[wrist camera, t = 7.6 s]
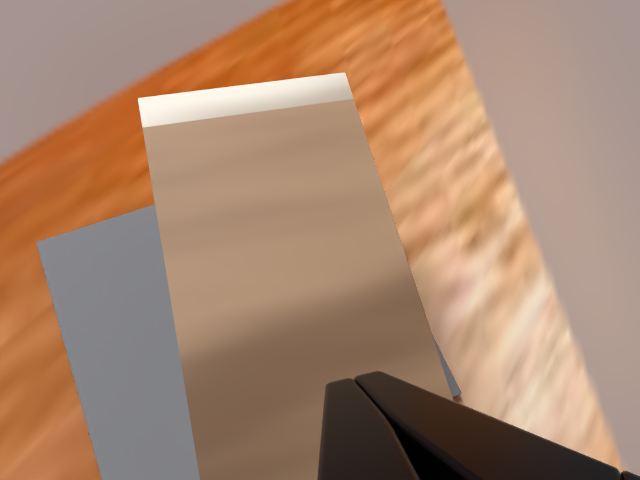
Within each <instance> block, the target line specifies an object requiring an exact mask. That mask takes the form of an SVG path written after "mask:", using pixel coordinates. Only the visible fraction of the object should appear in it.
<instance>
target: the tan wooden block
mask: <svg viewBox="0 0 640 480" xmlns="http://www.w3.org/2000/svg"><path fill="white" fill-rule="evenodd" d="M138 102H139V108H140V115H141V121H142V127H143V133H144V139H145V145H146V151H147V157H148V164H149V170H150V176H151V182H152V188H153V194H154V200H155V207H156V213H157V219H158V225H159V231H160V237H161V243H162V249H163V256H164V262H165V268H166V274H167V280H168V286H169V292H170V299H171V305H172V311H173V317H174V323H175V329H176V335H177V341H178V348H179V354H180V360H181V366H182V372H183V378H184V384H185V391H186V397H187V403H188V409H189V415H190V421H191V427H192V434H193V440H194V446H195V452H196V458H197V464H198V470H199V476H200V480H317V476H318V465H319V453H320V442H321V431H322V419H323V408H324V396H325V387H326V384H328V383H329V382H333V381H337V380H341V379H346V378H351V379H353V380H354V378H355V377H356V376H358V375H362V374H366V373H370V372H374V371H381V372H384V373H386V374H389V375H391V376H393V377H396V378H398V379H401V380H403V381H406V382H408V383H411V384H413V385H415V386H418V387H420V388H423V389H425V390H428V391H430V392H432V393H435V394H437V395H440V396H442V397H445V398H447V399H449V400H452V401H454V400H453V397H452V394H451V391H450V388H449V385H448V382H447V379H446V376H445V373H444V370H443V367H442V364H441V361H440V358H439V355H438V352H437V349H436V346H435V343H434V340H433V337H432V334H431V331H430V328H429V325H428V322H427V319H426V316H425V313H424V310H423V307H422V304H421V301H420V298H419V295H418V292H417V289H416V286H415V282H414V279H413V276H412V273H411V270H410V267H409V264H408V261H407V258H406V255H405V252H404V249H403V246H402V243H401V240H400V237H399V234H398V231H397V228H396V225H395V222H394V219H393V216H392V213H391V210H390V207H389V204H388V201H387V198H386V195H385V192H384V189H383V186H382V183H381V180H380V177H379V174H378V171H377V168H376V165H375V162H374V159H373V156H372V153H371V150H370V147H369V144H368V141H367V138H366V135H365V131H364V128H363V125H362V122H361V119H360V116H359V113H358V110H357V107H356V104H355V101H354V98H353V95H352V92H351V89H350V86H349V83H348V80H347V77H346V74H345V73H337V74H329V75H321V76H313V77H305V78H297V79H289V80H281V81H273V82H265V83H257V84H249V85H240V86H232V87H224V88H216V89H208V90H200V91H192V92H184V93H176V94H168V95H160V96H152V97H144V98H138Z"/></svg>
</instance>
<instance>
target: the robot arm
mask: <svg viewBox="0 0 640 480" xmlns="http://www.w3.org/2000/svg"><path fill="white" fill-rule="evenodd" d="M317 480H640V476H637V475H635V474H633V473H630V472H628V471H623V472H621V474H620V472H619V471H618V469H617V468H615V467H613V466H610V465H608V464H605V463H603V462H600V461H598V460H596V459H593V458H591V457H588V456H586V455H583V454H581V453H579V452H576V451H574V450H571V449H569V448H566V447H564V446H561V445H559V444H557V443H554V442H552V441H549V440H547V439H544V438H542V437H540V436H537V435H535V434H532V433H530V432H527V431H525V430H523V429H520V428H518V427H515V426H513V425H510V424H508V423H505V422H503V421H501V420H498V419H496V418H493V417H491V416H488V415H486V414H484V413H481V412H479V411H476V410H474V409H471V408H469V407H467V406H464V405H462V404H459V403H457V402H454V401H452V400H449V399H447V398H445V397H442V396H440V395H437V394H435V393H432V392H430V391H428V390H425V389H423V388H420V387H418V386H415V385H413V384H411V383H408V382H406V381H403V380H401V379H398V378H396V377H393V376H391V375H389V374H386V373H384V372H381V371H374V372H370V373H366V374H362V375H358V376H356V377H355V378H354V380H353V379H351V378H346V379H341V380H337V381H333V382H329V383H328V384H326V387H325V396H324V408H323V419H322V431H321V442H320V453H319V465H318V476H317Z"/></svg>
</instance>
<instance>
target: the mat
mask: <svg viewBox="0 0 640 480" xmlns="http://www.w3.org/2000/svg"><path fill="white" fill-rule="evenodd" d="M36 243H37V247H38V251H39V254H40V258H41V261H42V265H43V269H44V272H45V276H46V279H47V283H48V287H49V290H50V294H51V298H52V301H53V305H54V308H55V312H56V316H57V319H58V323H59V326H60V330H61V334H62V337H63V341H64V344H65V348H66V352H67V355H68V359H69V363H70V366H71V370H72V373H73V377H74V381H75V384H76V388H77V391H78V395H79V399H80V402H81V406H82V409H83V413H84V417H85V420H86V424H87V427H88V431H89V435H90V438H91V442H92V446H93V449H94V453H95V456H96V460H97V464H98V467H99V471H100V474H101V478H102V480H200V476H199V470H198V464H197V458H196V452H195V446H194V440H193V434H192V427H191V421H190V415H189V409H188V403H187V397H186V391H185V384H184V378H183V372H182V366H181V360H180V354H179V348H178V341H177V335H176V329H175V323H174V317H173V311H172V305H171V299H170V292H169V286H168V280H167V274H166V268H165V262H164V256H163V249H162V243H161V237H160V231H159V225H158V219H157V213H156V207H155V205H152V206H149V207H146V208H142V209H139V210H136V211H133V212H130V213H127V214H123V215H120V216H117V217H114V218H111V219H108V220H105V221H101V222H98V223H95V224H92V225H89V226H86V227H82V228H79V229H76V230H73V231H70V232H67V233H63V234H60V235H57V236H54V237H51V238H48V239H45V240H41V241H38V242H36ZM432 337H433V336H432ZM433 340H434V338H433ZM434 343H435V346H436V349H437V352H438V355H439V358H440V361H441V364H442V367H443V370H444V373H445V376H446V379H447V382H448V385H449V388H450V391H451V394H452V397H454V396H456V395H459V394H461V391H460V389H459V387H458V385H457V383H456V381H455V379H454V377H453V375H452V373H451V371H450V369H449V368H448V366H447V364H446V362H445V360H444V358H443V356H442V354H441V352H440V350H439V348H438V346H437V344H436V342H435V340H434Z"/></svg>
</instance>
